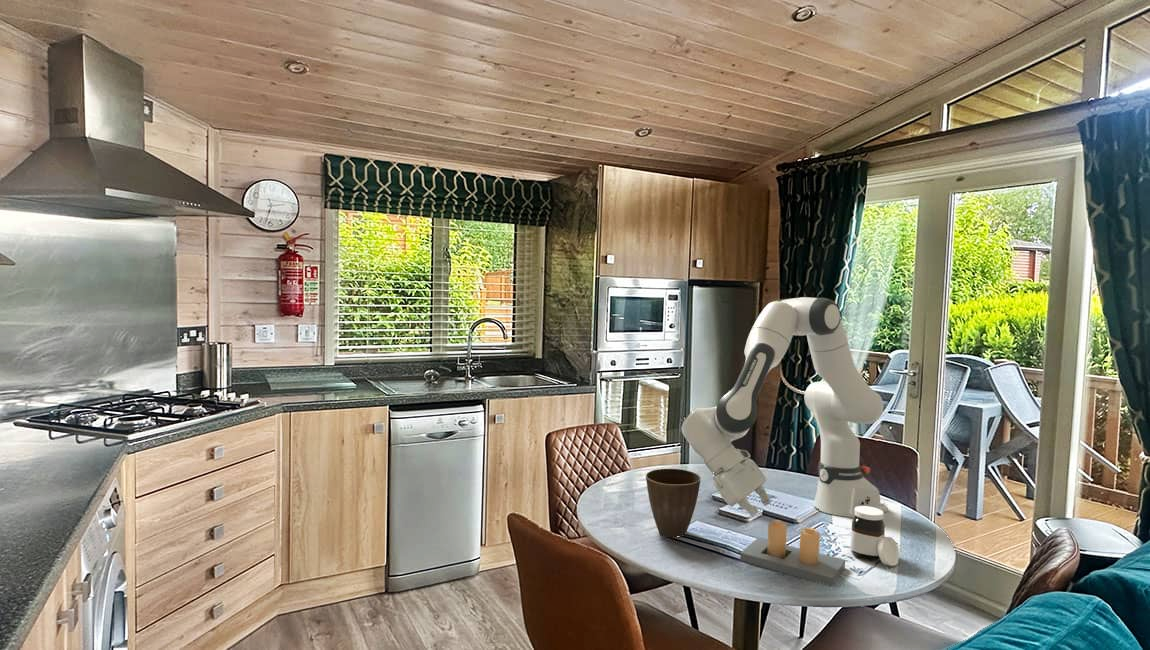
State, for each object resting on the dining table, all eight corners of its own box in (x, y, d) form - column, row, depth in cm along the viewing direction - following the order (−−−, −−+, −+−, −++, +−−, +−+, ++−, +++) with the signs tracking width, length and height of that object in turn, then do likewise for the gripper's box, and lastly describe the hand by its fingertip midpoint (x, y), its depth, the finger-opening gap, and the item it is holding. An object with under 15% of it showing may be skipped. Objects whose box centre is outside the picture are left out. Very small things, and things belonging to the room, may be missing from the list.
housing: (740, 560, 162) (741, 521, 161) (757, 545, 171) (758, 508, 171) (831, 586, 149) (833, 543, 148) (844, 568, 158) (846, 528, 158)
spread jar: (853, 544, 173) (855, 502, 172) (900, 554, 167) (902, 510, 167) (846, 560, 163) (849, 515, 162) (896, 571, 157) (899, 524, 156)
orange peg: (777, 555, 165) (779, 517, 165) (789, 562, 161) (790, 523, 160) (763, 557, 164) (764, 518, 163) (774, 564, 160) (775, 525, 159)
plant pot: (669, 548, 169) (671, 488, 168) (633, 529, 181) (634, 473, 180) (710, 536, 177) (712, 479, 176) (673, 519, 189) (675, 465, 188)
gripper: (718, 466, 159) (756, 514, 154) (749, 449, 176) (784, 491, 171) (701, 480, 162) (737, 527, 157) (733, 462, 179) (766, 504, 174)
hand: (762, 508), depth 164 cm, fingers open, 8 cm apart
